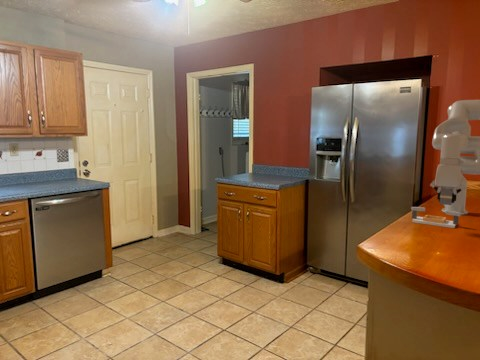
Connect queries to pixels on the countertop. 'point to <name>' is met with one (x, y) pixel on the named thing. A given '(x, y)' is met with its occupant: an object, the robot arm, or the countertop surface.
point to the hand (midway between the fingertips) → (446, 201)
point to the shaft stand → (435, 218)
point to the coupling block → (446, 195)
